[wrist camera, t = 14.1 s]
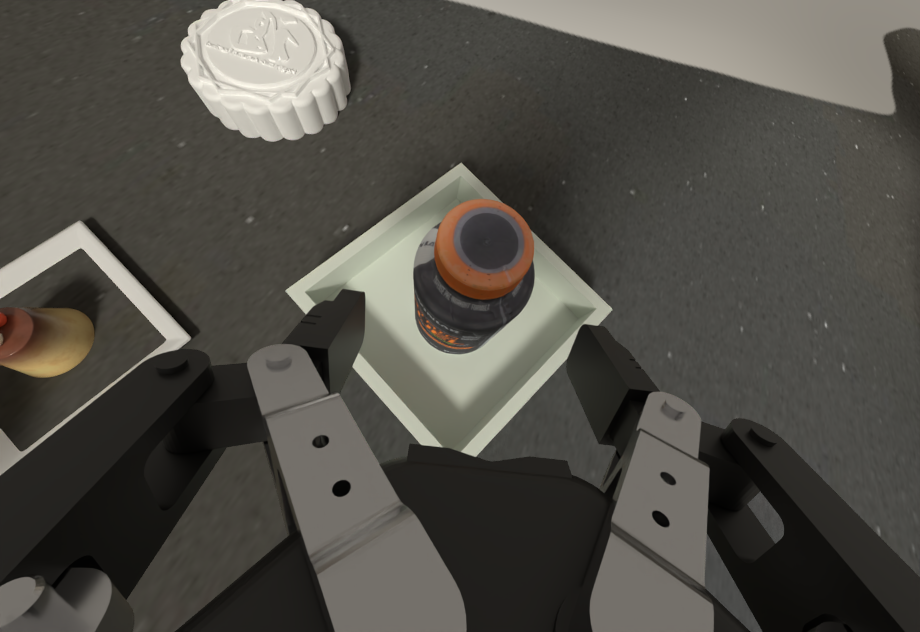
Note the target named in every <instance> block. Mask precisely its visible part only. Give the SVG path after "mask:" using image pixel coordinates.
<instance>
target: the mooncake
mask: <svg viewBox="0 0 920 632" xmlns="http://www.w3.org/2000/svg"><path fill="white" fill-rule="evenodd" d="M188 35H189V36H188V37H186V38H185V39H183V41H182V43H181V49H182V52H183V53H184V55H183V56H182V58H181V65H182V68H183V69H184V71H185V72H186V73H187V75H188V80H189V82H190V84H191V86H192V87H193V88H194V90H195V91H196V93H197V94H198V95H199V97H200V98H201V99H202V101H203V102H204V104H205V105H206V106H207V108H208V109H209V111H210V112H211V113H212V114H213V115H214V116H216V117H219V119H220V120H221V121H222V123H223V124H224V125H225V126H226V127H227V128H229V129H232V130H239V131H240V132H241V133H242V134H243V135H244V136H246V137H249V138H257V137H260V136H261V137H262V138H263V139H265V140H267V141H278V140H281V139H282V138H283V137H284V138H286V139H288V140H297V139H300V138H301V137H303V136H304V134H305V133H307V134H315V133H318V132H319V131H321V130H322V128H323V126H324V124H330V123H332V122H334V121H335V120H336V119H337V117H338V111H341V110H343V109H344V108H345V107H346V105H347V97H346V96H347V95H348V94H349V93H350V91H351V85H350V81H349V72H348V67H347V63H346V58H345V54H344V49H343V44H342V41H341V39H340V38H339V37H338V36H337V35H335V31H334V28H333V26H332V25H331V24H330V23H329V22H328V21H326V20H323V19H321V17H320V15H319V14H318V12H316V11H315V10H313V9H310V8H304V7H303V6H302V5H301V4H299V3H298V2H296V1H293V0H286V1H281V0H228V1H225V2H223V3H221V4H220V5H219V7H218V9H209V10H207V11H205V12H204V13H203V14H202V15H201V19H200V20H197V21H195V22H193V23H192V24H191V25H190V26H189V28H188Z"/></svg>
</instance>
